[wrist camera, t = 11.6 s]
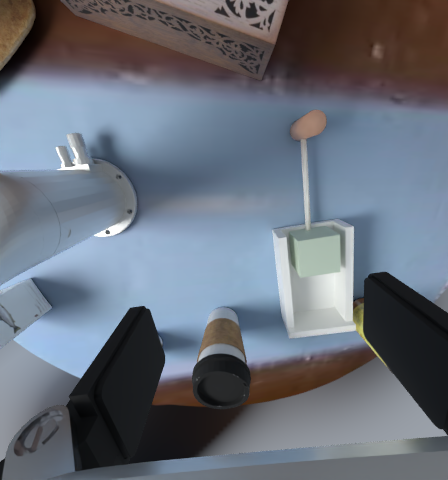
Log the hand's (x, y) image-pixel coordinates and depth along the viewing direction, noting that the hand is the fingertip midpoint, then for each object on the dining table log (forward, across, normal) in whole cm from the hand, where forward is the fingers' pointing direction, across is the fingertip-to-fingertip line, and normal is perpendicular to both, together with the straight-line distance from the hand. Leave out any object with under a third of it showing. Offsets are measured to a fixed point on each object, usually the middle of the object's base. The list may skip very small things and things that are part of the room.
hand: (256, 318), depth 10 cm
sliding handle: (+28, -11, 0) cm, 30 cm away
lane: (+28, -11, +14) cm, 33 cm away
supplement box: (+28, +43, +11) cm, 53 cm away
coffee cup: (+28, +6, +22) cm, 36 cm away
